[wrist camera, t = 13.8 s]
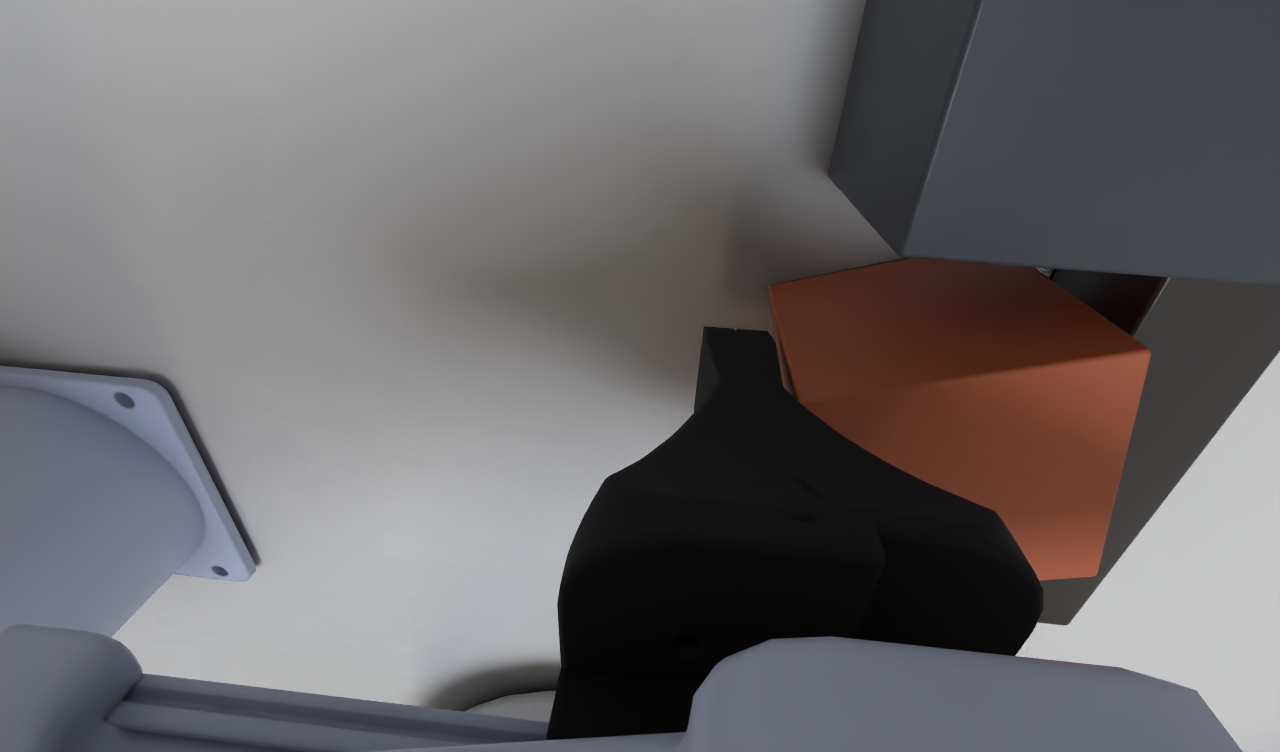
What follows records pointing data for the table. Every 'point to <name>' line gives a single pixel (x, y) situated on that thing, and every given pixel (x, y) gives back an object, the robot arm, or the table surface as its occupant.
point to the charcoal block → (1070, 134)
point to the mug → (519, 706)
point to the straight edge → (1170, 390)
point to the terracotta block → (974, 390)
